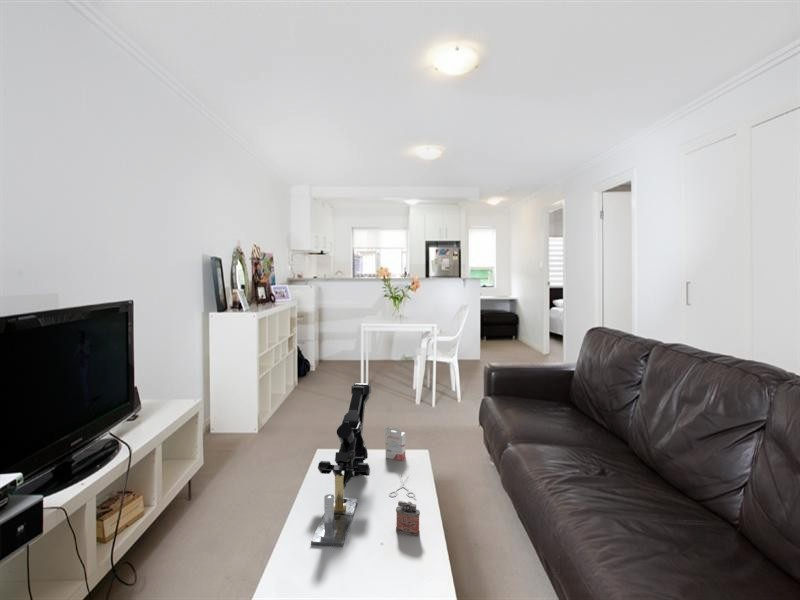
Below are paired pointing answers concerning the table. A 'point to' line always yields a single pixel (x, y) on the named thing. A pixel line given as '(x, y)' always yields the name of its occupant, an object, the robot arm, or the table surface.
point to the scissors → (403, 487)
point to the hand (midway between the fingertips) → (340, 492)
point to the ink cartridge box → (395, 443)
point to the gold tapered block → (339, 494)
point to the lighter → (407, 519)
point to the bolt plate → (334, 523)
